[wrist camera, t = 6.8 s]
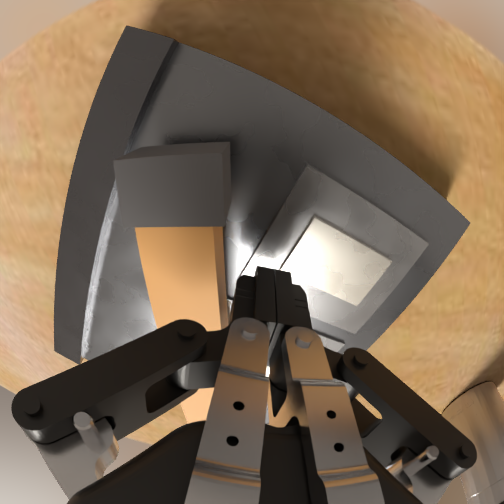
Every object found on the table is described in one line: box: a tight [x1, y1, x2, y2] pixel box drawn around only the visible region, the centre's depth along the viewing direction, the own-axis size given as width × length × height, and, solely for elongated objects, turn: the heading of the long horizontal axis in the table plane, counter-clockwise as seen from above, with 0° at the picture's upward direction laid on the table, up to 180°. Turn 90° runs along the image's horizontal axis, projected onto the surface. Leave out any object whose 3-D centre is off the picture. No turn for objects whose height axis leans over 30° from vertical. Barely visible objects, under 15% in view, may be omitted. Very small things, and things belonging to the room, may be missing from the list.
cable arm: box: [113, 142, 232, 424], centre depth 15 cm, size 4×21×3 cm, turn 0°
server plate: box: [54, 26, 470, 424], centre depth 17 cm, size 20×22×4 cm
